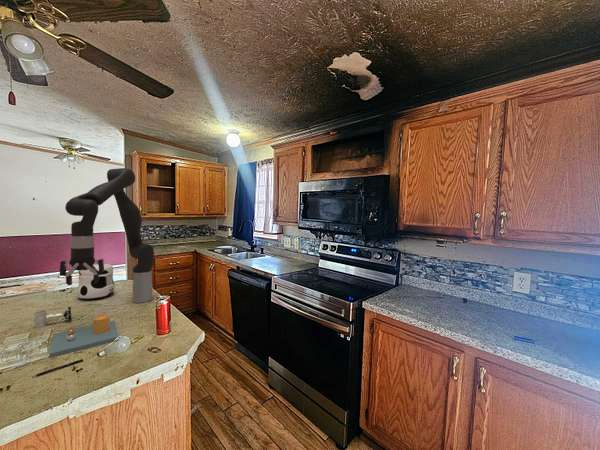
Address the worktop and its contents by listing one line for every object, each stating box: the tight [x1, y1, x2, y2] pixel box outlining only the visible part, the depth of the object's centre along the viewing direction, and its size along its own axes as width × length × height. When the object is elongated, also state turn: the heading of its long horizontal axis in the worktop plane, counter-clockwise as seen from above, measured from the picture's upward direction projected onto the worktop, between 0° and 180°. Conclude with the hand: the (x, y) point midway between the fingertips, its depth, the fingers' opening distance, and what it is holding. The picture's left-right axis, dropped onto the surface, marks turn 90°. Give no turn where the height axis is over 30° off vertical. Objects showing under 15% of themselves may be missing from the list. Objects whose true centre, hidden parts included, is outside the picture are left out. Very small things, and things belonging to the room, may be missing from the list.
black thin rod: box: [31, 358, 84, 379], centre depth 84 cm, size 12×1×1 cm, turn 139°
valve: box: [33, 306, 72, 329], centre depth 114 cm, size 7×7×12 cm
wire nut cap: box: [92, 313, 110, 334], centre depth 106 cm, size 5×5×6 cm
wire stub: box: [67, 328, 76, 341], centre depth 99 cm, size 3×3×4 cm
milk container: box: [76, 263, 116, 300], centre depth 148 cm, size 17×17×18 cm
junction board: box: [48, 320, 119, 358], centre depth 103 cm, size 20×18×2 cm
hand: (82, 284), depth 107 cm, fingers open, 8 cm apart
